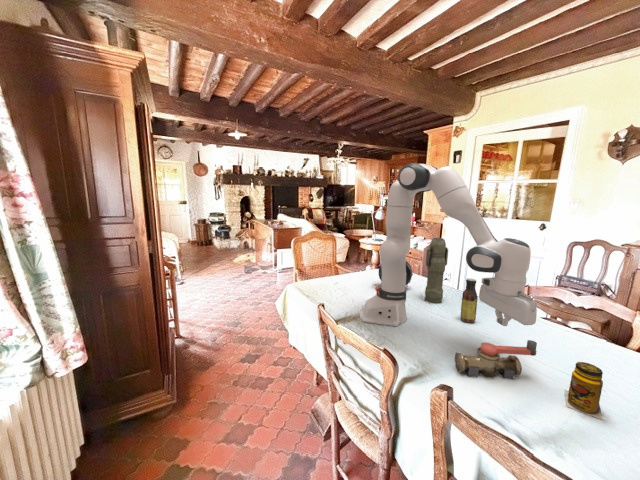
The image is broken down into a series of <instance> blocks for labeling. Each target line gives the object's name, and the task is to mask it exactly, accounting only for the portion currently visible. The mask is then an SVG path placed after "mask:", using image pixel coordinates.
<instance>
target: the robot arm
mask: <svg viewBox="0 0 640 480" xmlns="http://www.w3.org/2000/svg"><path fill="white" fill-rule="evenodd" d="M429 191H432V193H433V194H434V196H435V198H436V200H437V202H438V205H439V207H440V208H441V210H442V211H443V213H444V214H445V215H446V216H448V217H450V218H452V219H454V220H456V221H458V222H461V223H462V224H463V225H464V226H465V227H466V229H467V230H468V232H469V234H470V235H471V237H472V239H473V240H474V242H475V244H476V245H475V246H473V247H471V248H470V249H468V251H467V252H466V255H465V261H466V264H467V266H468V267H469V268H470V269H471V270H473V271H474V272H480V273H489V274H491V273H494V276H492V277H483V278H481V283H482V284H481V286H480V289H479V293H478V299H479V300H480V302H482V303H484V304H485V305H487V306H489V307H490V308H493V309H494V313H495V316H496V323H498V324H499V325H501V326H502V327H507V326H508V324H509V322H510V321H511V320H514V321H516V322H518V323H519V324H522V325H523V326H533V325H535V324H536V322H537V315H538V314H537V313H538V312H537V311H538V309H537V306H538V303H537V301H536V300H535V298H534V297H533V296H532V295H528V294H527V293H525V291H526V284H527V273H528V271H529V269H530V264H531V263H530V262H531V257H532V256H531V252H532V251H531V247H530V245H529V244H528V243H527V242H525V241H523V240H520V239H516V238H511V237H509V238H508V237H507V238H503V239H501V240H498V239H496V238H495V236H494V235H493V233H492V231H491V230H490V228H489V226H488V224H487V223H486V221H485V220H484V218H483V216H482V215H481V213H480V211H479V209H478V207H477V205H476V204H475V201H474V198H473V196H472V195H471V192H470V190H469V187H468V186H467V184H466V183H465V181H464V179H463V178H462V177H461V175H460V173H459V172H458V171H457V170H456V169H455V168H454V167H453V166H450V165H449V166H448V165H447V166H442V167H440V168H437V166H436V167H435V166H434V165H430V164H426V163H416V162H412V163H408V164H407V163H406V164H405V165H404V166H402V167H401V169H400V170H399V171H398V175H397V180H396V181H395V182H393V183H391V185H390V188H389V192H388V196H387V202H386V212H385V228H386V231H385V232H386V240H384V241H383V242H382V243H381V245H380V248H379V251H378V252H379V257H380V265H381V268H382V281H381V280H380V281H381V285H380V286H378V285H376V286H375V287H374V291H375V292H376V294H375V295H373V296H372V297H370V298H367V299H366V301H365V304H364V305H363V307H362V308H360V309H359V311H358V316H359V319H360V320H361V321H362V322H363V323H367V324H368V323H369V324H376V325H383V326H391V327H398V326H399V325H400V324H404V323H406V322H407V321H408V317H407V313H406V312H407V311H406V301H407V288H406V286H407V285H406V261H407V260H406V259H407V258H406V257H407V255H408V254H409V253H410V250H411V238H412V237H411V235H412V231H411V230H412V229H411V228H412V227H411V226H412V217H413V216H412V215H413V208H414V207H413V206H414V198H415V196H416V194H417V193H419V194H423V193H425V192H429Z"/></svg>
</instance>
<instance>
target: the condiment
mask: <svg viewBox="0 0 640 480" xmlns="http://www.w3.org/2000/svg"><path fill="white" fill-rule="evenodd" d="M603 374H604V372H603V370H602V369H601V368H600V367H598V366H596V365H595V364H591V363H588V362H583V361H578V362H576V363H575V367H574V370H573V371H572V372H571V378H570V384H569V388H568V390H567V389H564V402H565V404H564V405H565V407H568V408H569V409H570V408H571V409H573V410H575V411H577V412H580V413H583V414H585V415H589V416H591V417H595V418H597V419H599V420H604V418H603V413H602V410H601V406H600V400H601V395H602V390H603V389H602V388H603V385H604V381H603Z"/></svg>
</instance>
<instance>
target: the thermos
mask: <svg viewBox="0 0 640 480" xmlns="http://www.w3.org/2000/svg"><path fill="white" fill-rule="evenodd" d="M429 243H430V245H429V246H428V247H427V249H426V255H425V256H426V257H425V266H426V267H427V279H426V287H425V290H424V292H425V293H424V296H425V297H424V301H425V302H427V303H430V304H435V305H438V304H439V305H440V304H442V303H443V296H444V289H443V286H444V285H443V283H444V273H445V271H446V266H448V257H449V248H448V247H447V245H446V240H445V238H444V237H443V238H442V237H433V238H431V242H429Z"/></svg>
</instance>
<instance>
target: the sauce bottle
mask: <svg viewBox="0 0 640 480" xmlns="http://www.w3.org/2000/svg"><path fill="white" fill-rule="evenodd" d="M465 282H466V283H465V285H466V286H465V288H464V290H463V291H462V297H461V305H460V306H461V308H460V320H461V321H462V322H464V323H468V324H473V323H475V322H476V317H477V307H478V299H479V296H478V293H477V290H476V285H477V279H474V278H466V280H465Z"/></svg>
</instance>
